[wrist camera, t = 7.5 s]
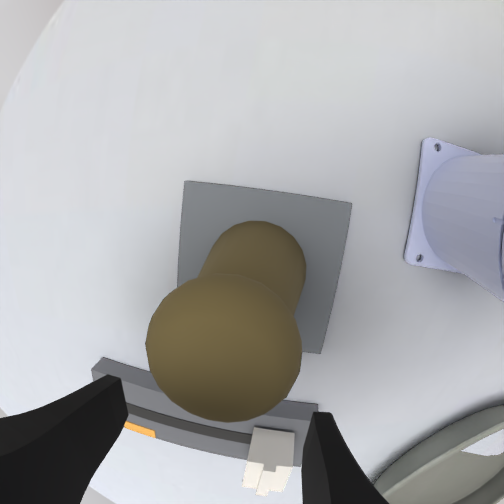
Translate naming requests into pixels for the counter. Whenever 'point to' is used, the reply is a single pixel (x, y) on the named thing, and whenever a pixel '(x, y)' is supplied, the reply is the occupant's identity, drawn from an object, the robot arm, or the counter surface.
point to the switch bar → (196, 428)
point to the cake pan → (449, 466)
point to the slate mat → (279, 213)
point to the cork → (232, 327)
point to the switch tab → (269, 461)
